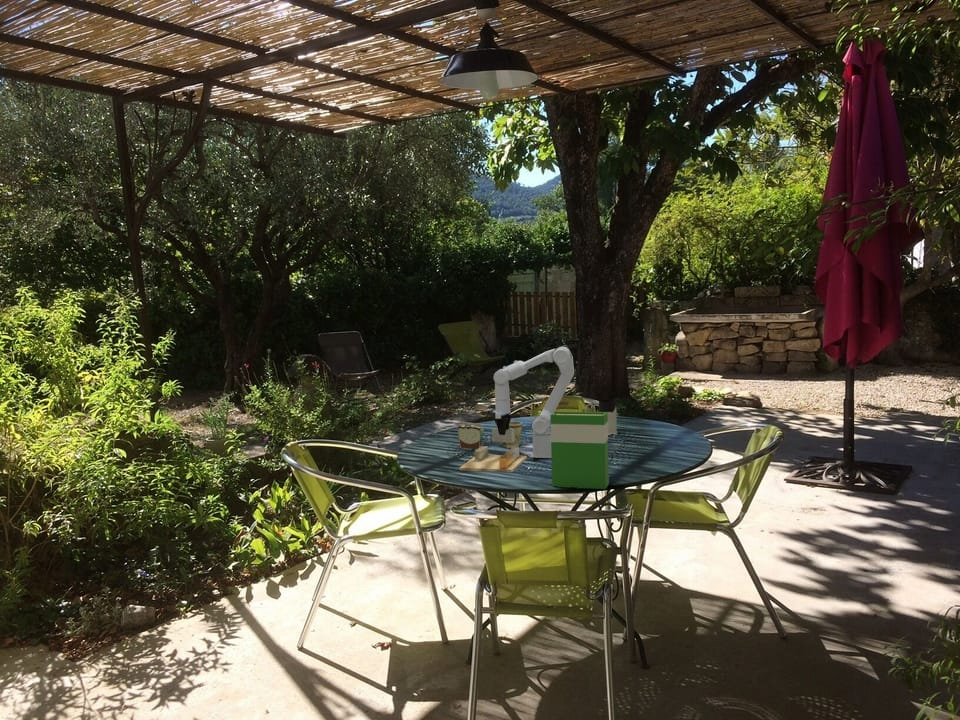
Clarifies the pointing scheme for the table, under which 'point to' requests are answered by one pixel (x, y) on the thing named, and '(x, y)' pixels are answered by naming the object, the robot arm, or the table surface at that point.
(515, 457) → the block
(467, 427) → the food container
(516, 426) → the ceramic cup
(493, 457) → the base
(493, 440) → the steel block
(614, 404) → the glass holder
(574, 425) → the green box
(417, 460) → the table surface
